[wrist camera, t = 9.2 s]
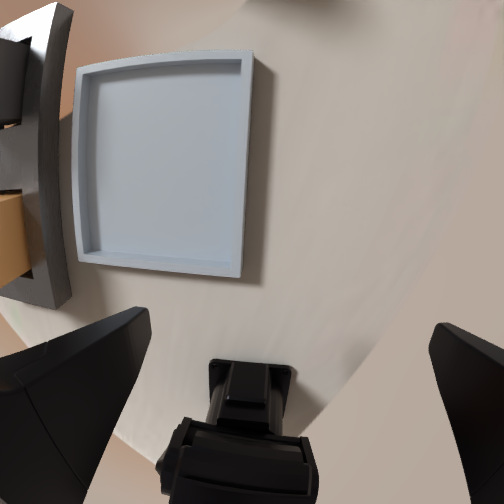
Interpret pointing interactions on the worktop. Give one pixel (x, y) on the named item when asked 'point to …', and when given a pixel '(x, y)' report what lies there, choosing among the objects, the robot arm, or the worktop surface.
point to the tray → (163, 161)
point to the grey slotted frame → (38, 156)
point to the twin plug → (12, 80)
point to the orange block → (12, 238)
